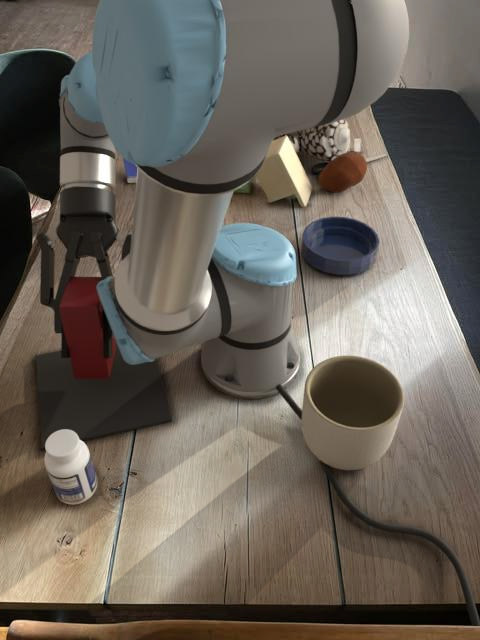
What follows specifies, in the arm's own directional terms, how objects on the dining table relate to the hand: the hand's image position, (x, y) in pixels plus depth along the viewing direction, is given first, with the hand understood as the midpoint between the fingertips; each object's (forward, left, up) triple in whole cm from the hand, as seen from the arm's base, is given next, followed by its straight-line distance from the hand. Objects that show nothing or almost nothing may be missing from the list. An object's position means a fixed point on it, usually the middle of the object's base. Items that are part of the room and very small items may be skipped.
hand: (87, 357), depth 85 cm
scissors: (+55, -74, -7) cm, 93 cm away
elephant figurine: (+58, -49, -8) cm, 76 cm away
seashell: (+61, -57, 0) cm, 83 cm away
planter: (-18, -32, -8) cm, 38 cm away
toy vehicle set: (+61, -63, -6) cm, 88 cm away
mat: (+1, -1, -8) cm, 8 cm away
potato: (+48, -57, -4) cm, 74 cm away
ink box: (+52, -37, -8) cm, 65 cm away
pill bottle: (-15, +4, -8) cm, 18 cm away
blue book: (+58, -17, -7) cm, 61 cm away
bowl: (+22, -48, -8) cm, 53 cm away
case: (+3, -1, -5) cm, 6 cm away
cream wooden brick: (+47, -41, +2) cm, 63 cm away
